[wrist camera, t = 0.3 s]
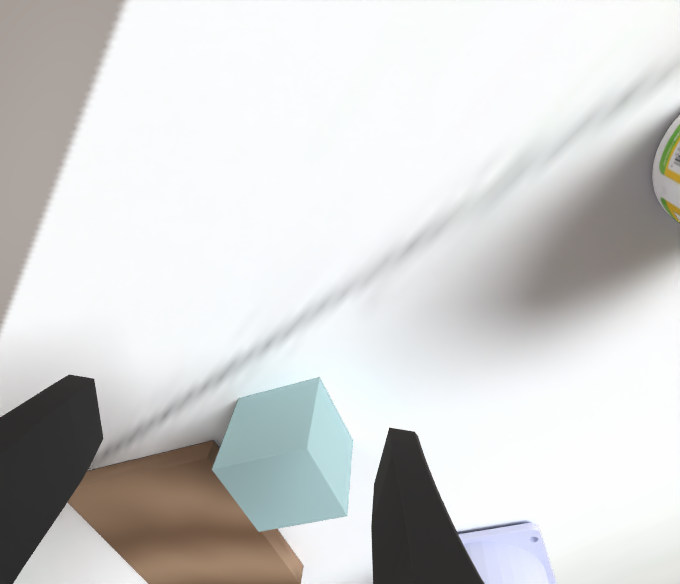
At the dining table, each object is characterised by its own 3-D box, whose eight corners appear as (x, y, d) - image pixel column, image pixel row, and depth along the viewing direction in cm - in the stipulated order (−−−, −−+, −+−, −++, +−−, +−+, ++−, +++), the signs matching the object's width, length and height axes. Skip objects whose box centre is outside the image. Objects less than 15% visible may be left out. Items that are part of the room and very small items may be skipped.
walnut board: (303, 565, 31) (300, 584, 30) (175, 585, 34) (168, 603, 33) (213, 440, 26) (206, 458, 25) (69, 475, 28) (57, 492, 27)
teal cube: (353, 438, 25) (347, 516, 21) (277, 455, 26) (258, 532, 22) (319, 376, 23) (306, 448, 19) (239, 397, 24) (211, 469, 21)
